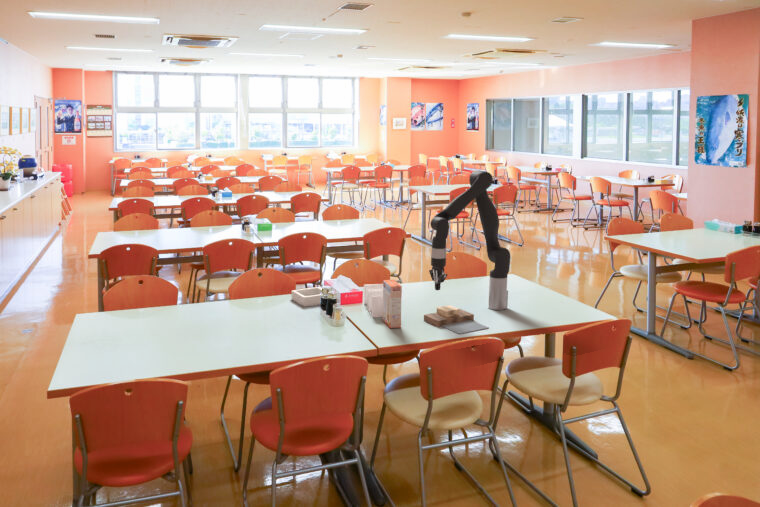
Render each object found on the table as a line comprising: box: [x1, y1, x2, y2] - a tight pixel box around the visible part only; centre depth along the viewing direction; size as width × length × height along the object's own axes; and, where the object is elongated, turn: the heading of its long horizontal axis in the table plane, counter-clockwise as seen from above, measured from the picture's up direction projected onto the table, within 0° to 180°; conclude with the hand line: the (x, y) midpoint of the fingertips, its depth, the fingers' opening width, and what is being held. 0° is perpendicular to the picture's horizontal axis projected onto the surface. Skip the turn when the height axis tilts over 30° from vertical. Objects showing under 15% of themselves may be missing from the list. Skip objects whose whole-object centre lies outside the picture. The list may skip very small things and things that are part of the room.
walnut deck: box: [423, 308, 475, 328], centre depth 322 cm, size 22×12×3 cm, turn 121°
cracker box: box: [382, 279, 403, 329], centre depth 314 cm, size 14×6×21 cm, turn 14°
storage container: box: [363, 283, 383, 318], centre depth 339 cm, size 25×11×11 cm, turn 11°
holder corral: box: [291, 286, 323, 307], centre depth 356 cm, size 17×17×5 cm
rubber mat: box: [441, 320, 490, 335], centre depth 312 cm, size 18×15×1 cm
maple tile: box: [436, 304, 460, 317], centre depth 322 cm, size 8×8×3 cm
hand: (437, 289), depth 328 cm, fingers closed
